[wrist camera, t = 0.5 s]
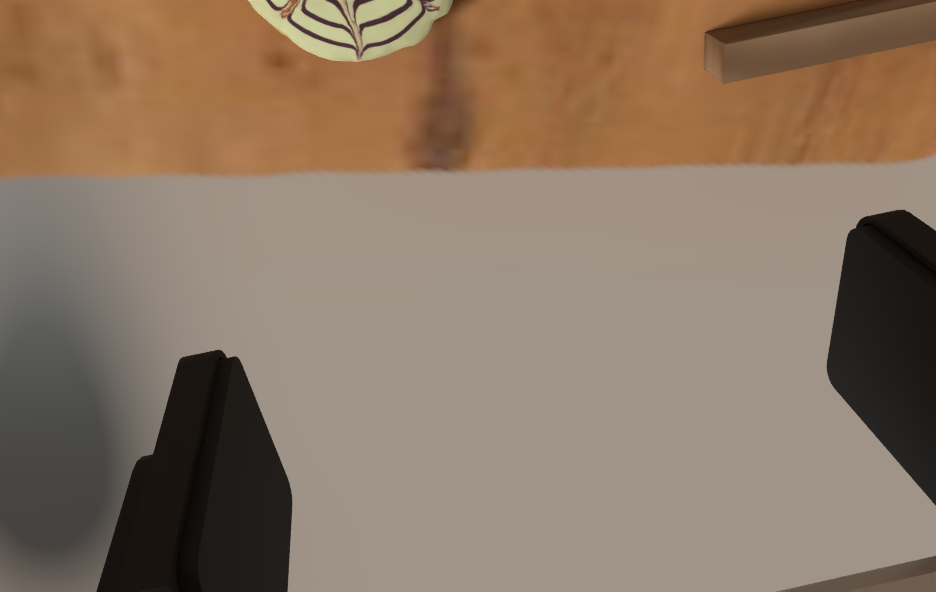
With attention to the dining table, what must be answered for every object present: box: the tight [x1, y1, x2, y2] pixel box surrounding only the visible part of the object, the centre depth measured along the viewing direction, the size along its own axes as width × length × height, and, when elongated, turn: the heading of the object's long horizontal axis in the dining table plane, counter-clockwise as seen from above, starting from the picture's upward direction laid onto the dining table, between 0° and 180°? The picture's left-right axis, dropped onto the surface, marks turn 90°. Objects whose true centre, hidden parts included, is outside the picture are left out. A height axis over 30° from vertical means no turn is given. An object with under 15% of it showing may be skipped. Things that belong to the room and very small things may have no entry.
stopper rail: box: [704, 0, 936, 84], centre depth 39 cm, size 2×14×2 cm, turn 99°
